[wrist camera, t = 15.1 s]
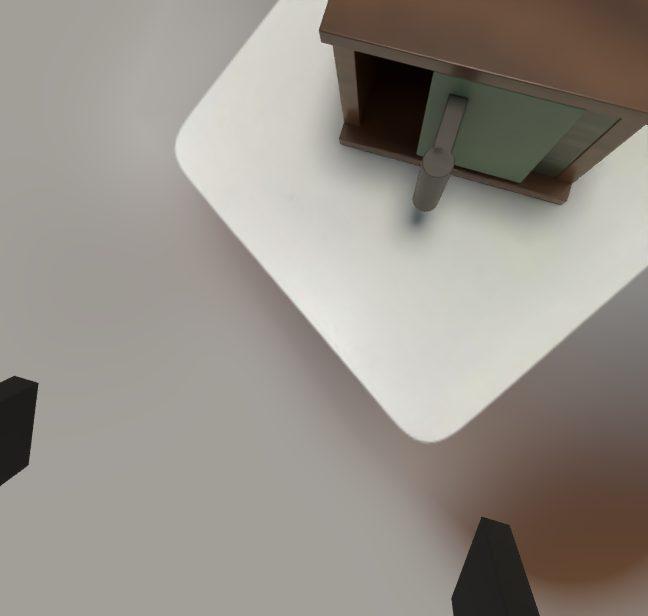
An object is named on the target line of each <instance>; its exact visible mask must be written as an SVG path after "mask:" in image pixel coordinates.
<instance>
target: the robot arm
mask: <svg viewBox="0 0 648 616" xmlns="http://www.w3.org/2000/svg"><path fill="white" fill-rule="evenodd" d="M37 391H38V383H37V382H33V381H30V380H26V379H23V378H20V377H16V376H13V377H11V378H9V379H7V380H5V381H3V382H0V486H1V485H2V484H4V483H5V482H6V481H8V480H9V479H10V478H12V477H13V476H14V475H16V474H17V473H18V472H20V471H21V470H23V469H24V468H25V467H26V466H28V465H29V456H30V449H31V440H32V432H33V424H34V415H35V407H36V399H37ZM451 600H452V606H453V615H454V616H540V615H539V612H538V609H537V606H536V603H535V600H534V597H533V594H532V591H531V588H530V585H529V582H528V579H527V576H526V573H525V570H524V567H523V564H522V561H521V558H520V555H519V552H518V549H517V546H516V543H515V540H514V537H513V534H512V531H511V528H510V525H507V524H504V523H501V522H498V521H494V520H491V519H488V518H484V517H481V520H480V523H479V525H478V528H477V531H476V533H475V536H474V539H473V541H472V544H471V547H470V550H469V552H468V555H467V558H466V560H465V563H464V566H463V568H462V571H461V574H460V577H459V579H458V582H457V585H456V587H455V590H454V592H453V595H452V598H451Z"/></svg>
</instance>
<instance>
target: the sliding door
mask: <svg viewBox="0 0 648 616" xmlns="http://www.w3.org/2000/svg"><path fill="white" fill-rule="evenodd" d="M585 111H586V109H583V108H579V107H575V106H571V105H567V104H563V103H559V102H555V101H551V100H547V99H543V98H539V97H535V96H531V95H527V94H523V93H519V92H516V91H512V90H508V89H504V88H500V87H496V86H492V85H488V84H484V83H480V82H476V81H472V80H468V79H464V78H460V77H456V76H452V75H449V74H445V73H441V72H437V71H434V72H433V77H432V82H431V87H430V91H429V96H428V101H427V106H426V110H425V115H424V120H423V124H422V129H421V134H420V139H419V143H418V148H417V153H416V154H417V155H420V156H423V159H422V163H421V167H420V171H419V175H418V179H417V183H416V187H415V191H414V195H413V204H414V206H415V207H416V208H417V209H418V210H420V211H424V212H427V211H431V210H433V209H434V208H435V207H436V206H437V204H438V202H439V199H440V197H441V195H442V193H443V190H444V188H445V186H446V184H447V181H448V179H449V177H450V175H451V172H452V170H453V168H454V165H456V166H460V167H464V168H467V169H471V170H475V171H478V172H482V173H486V174H489V175H493V176H497V177H500V178H504V179H508V180H511V181H515V182H518V183H521V182H522V181H523V179H524V178H525V177H526V176H527V175H528V174H529V173H530V172H531V171H532V170H533V168H534V167H535V166H536V165H537V164H538V163H539V162H540V161H541V160H542V159H543V158H544V156H545V155H546V154H547V153H548V152H549V151H550V150H551V149H552V148H553V147H554V145H555V144H556V143H557V142H558V141H559V140H560V139H561V138H562V137H563V136H564V134H565V133H566V132H567V131H568V130H569V129H570V128H571V127H572V126H573V125H574V123H575V122H576V121H577V120H578V119H579V118H580V117H581V116H582V115H583V114H584V113H585Z"/></svg>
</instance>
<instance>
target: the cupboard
mask: <svg viewBox="0 0 648 616" xmlns="http://www.w3.org/2000/svg"><path fill="white" fill-rule="evenodd" d="M319 33H320V39H321V42H322V43H326V44H330V45H333V50H334V57H335V64H336V70H337V77H338V84H339V91H340V97H341V104H342V111H343V117H344V125H343V128H342V131H341V134H340V137H339V140H340V144H343V145H347V146H350V147H354V148H357V149H361V150H365V151H368V152H372V153H376V154H379V155H383V156H386V157H390V158H394V159H397V160H401V161H405V162H408V163H412V164H415V165H419V166H421V163H422V159H423V156H420V155H417V154H416V153H417V148H418V143H419V139H420V134H421V129H422V124H423V120H424V115H425V110H426V106H427V101H428V96H429V91H430V87H431V82H432V77H433V72H434V71H437V72H441V73H445V74H449V75H452V76H456V77H460V78H464V79H468V80H472V81H476V82H480V83H484V84H488V85H492V86H496V87H500V88H504V89H508V90H512V91H516V92H519V93H523V94H527V95H531V96H535V97H539V98H543V99H547V100H551V101H555V102H559V103H563V104H567V105H571V106H575V107H579V108H583V109H586V111H585V113H584V114H583V115H582V116H581V117H580V118H579V119H578V120H577V121H576V122H575V123H574V125H573V126H572V127H571V128H570V129H569V130H568V131H567V132H566V133H565V134H564V136H563V137H562V138H561V139H560V140H559V141H558V142H557V143H556V144H555V145H554V147H553V148H552V149H551V150H550V151H549V152H548V153H547V154H546V155H545V156H544V158H543V159H542V160H541V161H540V162H539V163H538V164H537V165H536V166H535V167H534V168H533V170H532V171H531V172H530V173H529V174H528V175H527V176H526V177H525V178H524V179H523V181H522V182H521V183H518V182H515V181H511V180H508V179H504V178H500V177H497V176H493V175H489V174H486V173H482V172H478V171H475V170H471V169H467V168H464V167H460V166H456V165H454V168H453V170H452V172H451V174H452V175H455V176H459V177H463V178H466V179H470V180H473V181H477V182H481V183H484V184H488V185H492V186H495V187H499V188H503V189H506V190H510V191H513V192H517V193H521V194H524V195H528V196H532V197H535V198H539V199H542V200H546V201H550V202H553V203H557V204H563V203H565V202H566V201H567V198H568V195H569V192H570V188H571V185H572V183H574V182H575V181H576V180H577V179H579V178H580V177H581V176H582V175H584V174H585V173H586V172H587V171H589V170H590V169H591V168H592V167H593V166H595V165H596V164H597V163H598V162H600V161H601V160H602V159H603V158H605V157H606V156H607V155H608V154H610V153H611V152H612V151H613V150H615V149H616V148H617V147H618V146H620V145H621V144H622V143H623V142H625V141H626V140H627V139H628V138H630V137H631V136H632V135H633V134H635V133H636V132H637V131H638V130H640V129H641V128H642V127H643V126H645V125H648V0H328V3H327V7H326V10H325V13H324V16H323V19H322V22H321V25H320V28H319Z"/></svg>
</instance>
